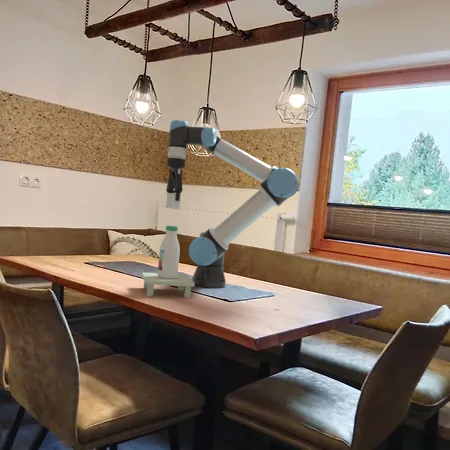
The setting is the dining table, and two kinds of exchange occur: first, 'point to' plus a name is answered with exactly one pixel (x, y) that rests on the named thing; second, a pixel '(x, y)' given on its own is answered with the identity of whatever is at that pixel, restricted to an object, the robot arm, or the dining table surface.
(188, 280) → the footstool
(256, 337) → the dining table surface
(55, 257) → the dining table surface
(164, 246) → the milk bottle
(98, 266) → the dining table surface
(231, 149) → the robot arm
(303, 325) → the dining table surface
